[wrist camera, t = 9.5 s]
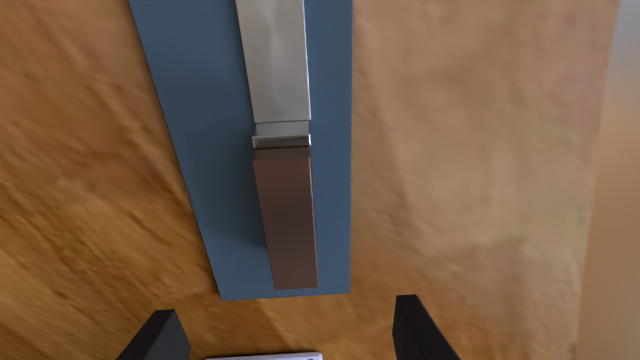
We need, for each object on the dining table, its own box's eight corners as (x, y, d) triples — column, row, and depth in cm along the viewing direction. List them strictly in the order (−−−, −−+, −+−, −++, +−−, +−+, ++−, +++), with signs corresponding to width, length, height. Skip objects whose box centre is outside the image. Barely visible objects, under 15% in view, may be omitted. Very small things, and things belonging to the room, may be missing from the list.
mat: (223, 296, 22) (221, 301, 22) (74, -191, 10) (65, -196, 10) (349, 288, 22) (350, 293, 22) (352, -204, 10) (354, -210, 10)
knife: (319, 251, 20) (320, 288, 17) (276, 253, 20) (272, 291, 17) (292, -191, 10) (287, -243, 8) (207, -187, 10) (176, -238, 8)
